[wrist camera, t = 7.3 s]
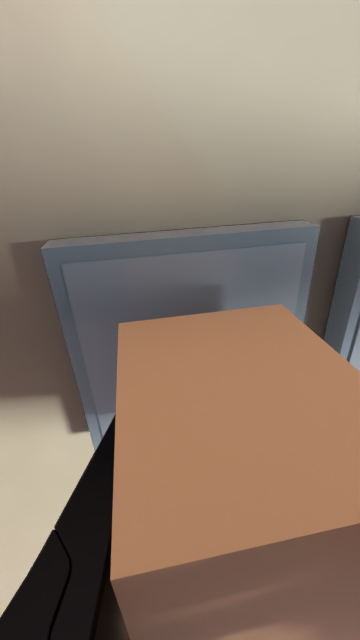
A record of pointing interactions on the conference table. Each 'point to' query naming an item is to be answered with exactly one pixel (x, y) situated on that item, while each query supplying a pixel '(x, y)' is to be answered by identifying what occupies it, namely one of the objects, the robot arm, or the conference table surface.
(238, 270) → the dish
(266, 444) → the block
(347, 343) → the dish
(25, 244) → the conference table surface
